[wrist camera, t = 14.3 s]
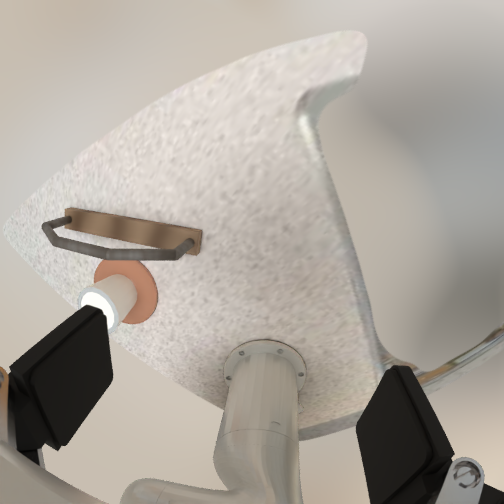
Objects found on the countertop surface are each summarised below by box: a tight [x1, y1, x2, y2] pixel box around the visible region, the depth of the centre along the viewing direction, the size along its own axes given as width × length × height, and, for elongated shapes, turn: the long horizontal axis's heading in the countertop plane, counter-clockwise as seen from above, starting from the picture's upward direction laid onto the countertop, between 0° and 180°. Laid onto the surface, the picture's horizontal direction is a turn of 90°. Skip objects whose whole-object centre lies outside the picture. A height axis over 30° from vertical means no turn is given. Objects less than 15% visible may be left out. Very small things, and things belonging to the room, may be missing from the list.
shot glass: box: [78, 274, 137, 334], centre depth 36 cm, size 7×7×7 cm
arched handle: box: [42, 208, 202, 260], centre depth 32 cm, size 22×3×12 cm, turn 80°
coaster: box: [94, 259, 158, 324], centre depth 40 cm, size 11×11×1 cm
